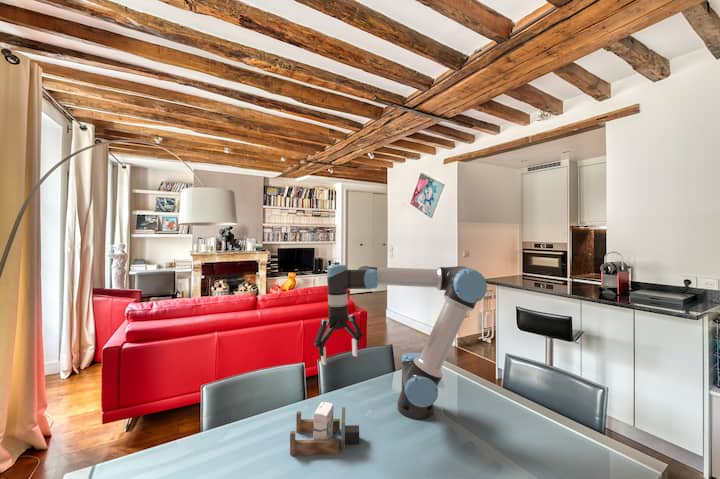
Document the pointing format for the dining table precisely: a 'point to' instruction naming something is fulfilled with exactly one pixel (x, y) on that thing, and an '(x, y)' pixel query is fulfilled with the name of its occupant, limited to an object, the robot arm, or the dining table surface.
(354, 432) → the grey stepped bracket
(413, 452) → the dining table surface
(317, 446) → the chute
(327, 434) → the ink box
